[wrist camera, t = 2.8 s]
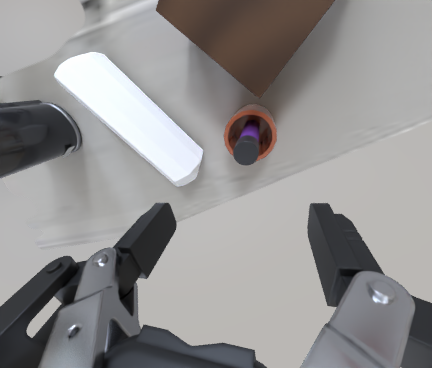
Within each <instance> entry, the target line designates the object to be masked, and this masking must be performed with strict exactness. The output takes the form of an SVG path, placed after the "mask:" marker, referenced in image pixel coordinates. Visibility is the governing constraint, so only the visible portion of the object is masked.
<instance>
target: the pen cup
mask: <svg viewBox="0 0 432 368" xmlns="http://www.w3.org/2000/svg"><path fill="white" fill-rule="evenodd" d="M249 120H256V121H257V122H258V123H259V126H260V129H259V142H258V143H259V155H258V158H257V160H256V161H258V160H260V159H262V158H264V157H266V156H267V155H268V154H269V153H270V152H271V151H272V149H273V147H274V145H275V143H276V140H277V130H276V126H275V122H274V119H273V117H272V115H271V113H270V111H269V110H268V109H266V108H265V107H263V106H261V105H258V104H250V105H246V106H244V107H242V108H241V109H239V110H238V111H237V112H236V113H235V115H234V116H233V117H232V118H231V120H230V121H229V122H228V124H227V125H226V129H225V133H224V140H225V146H226V147H227V149H228V151H229V152H230V154H232V155H233V150H234V148H235V145H236V143H237V141H238V139H239V138H240V136H241V133H242V131H243V128H244V126H245V124H246V122H247V121H249Z"/></svg>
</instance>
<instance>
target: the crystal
mask: <svg viewBox="0 0 432 368" xmlns="http://www.w3.org/2000/svg"><path fill="white" fill-rule="evenodd" d="M54 77H55V79H56V81H57V82H58V83H59V84H60V85H61V86H62V87H63V88H64V89H65V90H66V91H67V92H69V93H70V94H71V95H72V96H73V97H74V98H75V99H77V100H78V101H79V102H80V103H81V104H82V105H84V106H85V107H86V108H87V109H88V110H89V111H90V112H92V113H93V114H94V115H95V116H96V117H97V118H98V119H100V120H101V121H102V122H103V123H104V124H105V125H106V126H108V127H109V128H110V129H111V130H112V131H113V132H114V133H116V134H117V135H118V136H119V137H120V138H121V139H123V140H124V141H125V142H126V143H127V144H128V145H129V146H131V147H132V148H133V149H134V150H135V151H136V152H137V153H139V154H140V155H141V156H142V157H143V158H144V159H145V160H147V161H148V162H149V163H150V164H151V165H152V166H154V167H155V168H156V169H157V170H158V171H159V172H160V173H162V174H163V175H164V176H165V177H166V178H167V179H168V180H170V181H171V182H172V183H173V184H174V185H175V186H176V187H178V186H183V185H186V184H188V183H189V182H191V181H193V180H194V179H196V176H197V174H198V171H199V167H200V163H201V159H202V155H203V150H202V149H201V148H200V147H199V146H198V145H197V144H196V143H195V142H194V141H193V140H192V139H191V138H190V137H189V136H188V135H187V134H186V133H185V132H184V131H183V130H182V129H181V128H180V127H179V126H177V125H176V124H175V123H174V122H173V121H172V120H171V119H170V118H169V117H168V116H167V115H166V114H165V113H164V112H163V111H162V110H161V109H160V108H159V107H158V106H157V105H156V104H155V103H154V102H153V101H152V100H151V99H150V98H148V97H147V96H146V95H145V94H144V93H143V92H142V91H141V90H140V89H139V88H138V87H137V86H136V85H135V84H134V83H133V82H132V81H131V80H130V79H129V78H128V77H127V76H126V75H125V74H124V73H123V72H122V71H120V70H119V69H118V68H117V67H116V66H115V65H114V64H113V63H112V62H111V61H110V60H109V59H108V58H107V57H106V56H105V55H104V54H100V53H95V52H90V53H86V54H83V55H79V56H76V57H72V58H69V59H68V60H66V61H65V62H63V63H62V64H60V65H59V67H58V69H57V71H56V72H55V74H54Z"/></svg>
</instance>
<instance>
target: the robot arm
mask: <svg viewBox="0 0 432 368" xmlns="http://www.w3.org/2000/svg"><path fill="white" fill-rule="evenodd" d="M1 77H3V76H0V78H1ZM80 145H81V135H80V132H79V129H78V127H77V125H76V123H75V122H74V120H73V119H72V118H71V117H70V115H69V114H68V113H67V112H66V111H64V110H63V109H62V108H60V107H59V106H57V105H55V104H52V103H42V102H41V101H39V100H35V101H24V102H13V103H2V104H0V178H3V177H6V176H9V175H11V174H14V173H17V172H19V171H22V170H25V169H27V168H30V167H33V166H35V165H38V164H41V163H43V162H46V161H49V160H51V159H54V158H57V157H60V156H62V155H64V156H63V157H62V158H64V157H67V156H68V155H69V153H72V152H74V151H77V150H78V149H79V147H80ZM175 230H176V220H175V217H174V214H173V212H172V209H171V206H170V204H169V203H156V204H154V206H153V207H152V208H151V209H150V210H149V211H148V212H146V213H145V214H143V215H142V216H141V217H140V218H139V219H138V220H137V221H136V223H134V224H133V226H132V227H131V228H130V229H129V230H128V231H127V232H126V233H125V234H124V236H123V237H122V238H121V239H120V240H119V241H118V242H117V243H116V245H115V246H114V247H113V248H105V249H102V250H100V251H98V252H96V253H95V254H94V255H92V256H91V257H90V258H89V259H88V260H87V261H82V262H77V263H76V262H75V261H74V260H73V259H72V257H70V256H63V257H60V258H58V259H56V260H54V261H52V262H51V263H49V264H48V265H47V266H45V267H44V268H43V269H42V270H41V271H40V272H39V273H37V275H35V276H34V277H33V278H32V279H31V280H30V281H29V282H28V283H26V284H25V285H24V286H23V287H22V288H21V289H20V290H18V291H17V292H16V293H15V294H14V295H13V296H12V297H11V298H10V299H8V300H7V301H6V302H5V303H4V304H3V305H2V306H1V307H0V368H267V367H266V366H264V365H263V364H262V363H260V362H258V361H257V360H256V357H255V350H252V349H248V348H243V347H239V346H235V345H230V344H226V343H217V344H208V345H199V346H190V345H188V344H187V343H185V342H184V341H183V340H181V339H180V338H178V337H177V336H175V335H174V334H172V333H171V332H170V331H168V330H165V329H161V328H157V327H152V326H148V325H143V327H142V329H141V328H140V326H139V320H138V289H137V283H136V281H137V279H138V278H144V279H147V278H148V277H149V275H150V273H151V271H152V270H153V268H154V266H155V265H156V263H157V261H158V259H159V258H160V256H161V254H162V252H163V251H164V249H165V248H166V246H167V244H168V243H169V241H170V239H171V237H172V236H173V234H174V232H175ZM308 238H309V242H310V245H311V249H312V252H313V256H314V259H315V263H316V267H317V270H318V274H319V277H320V281H321V284H322V288H323V292H324V295H325V299H326V302H327V305H328V306H332V307H337V308H336V310H335V312H334V314H333V316H332V317H331V319H330V321H329V322H328V323H326V324H325V325H324V327H323V328H322V330H321V332H320V333H319V335H318V337H317V339H316V340H315V342H314V344H313V345H312V347H311V349H310V351H309V353H308V354H307V356H306V358H305V360H304V362H303V363H302V365H301V367H300V368H400V367H402V368H432V303H430V302H427V301H424V300H421V299H419V298H416V297H414V296H412V295H410V294H409V293H408V291H407V290H406V289H405V288H404V287H403V286H402V285H400V284H399V283H398V282H396V281H395V280H393V279H392V278H390V277H388V276H385V274H384V273H383V271H382V270H381V268H380V267H379V265H378V264H377V262H376V260H375V259H374V257H373V256H372V254H371V252H370V250H369V249H368V247H367V246H366V244H365V242H364V241H362V237H361V236H360V234H359V233H358V232H357V230H356V228H355V226H354V225H353V223H352V222H351V221H350V220H349V219H348V218H346V217H345V216H344V215H342V214H334V213H333V211H332V209H331V207H330V205H329V204H328V203H311V204H310V209H309V218H308ZM53 296H55V297H56V298H57V299H58V300H59V301H60V302H61V303H62V304H61V305H60V307H59V308H58V309H57V310H56V311H55V312H54V313H53V315H52V316H51V317H50V318H49V320H48V321H47V322H46V323H45V324H44V325H43V326H42V328H41V329H40V330H39V331H38V332H37V333H36V335H35V336H34V337H33V338H31V337H29V336H28V335H27V333H26V330H27V327H28V325H29V323H30V321H31V320H32V319H33V318H34V317H35V316H36V315H37V314H38V313H39V312H40V311H41V309H42V308H43V307H44V306H45V305H46V304H47V303H48V302H49V301H50V300H51V299H52V298H53Z"/></svg>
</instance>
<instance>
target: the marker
mask: <svg viewBox="0 0 432 368" xmlns="http://www.w3.org/2000/svg"><path fill="white" fill-rule="evenodd" d="M259 129H260V126H259V123H258V122H257V121H256V120H249V121H247V122H246V124H245V126H244V128H243V131H242V133H241V136H240V138H239V139H238V141H237V143H236V145H235V148H234V150H233V156H234V159H235V160H236V161H237V162H238V163H239V164H241V165H251V164H253V163H254V162H255V161H256V160H257V158H258V155H259V143H258V142H259Z"/></svg>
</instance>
